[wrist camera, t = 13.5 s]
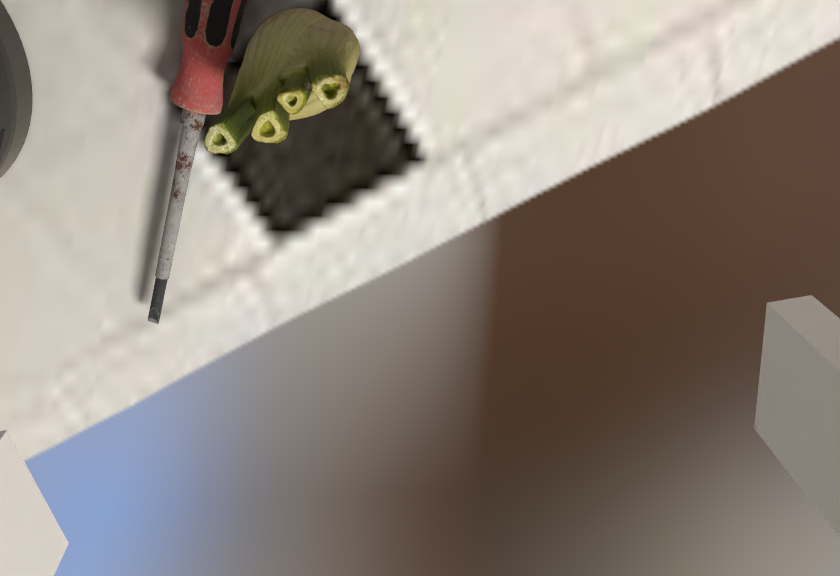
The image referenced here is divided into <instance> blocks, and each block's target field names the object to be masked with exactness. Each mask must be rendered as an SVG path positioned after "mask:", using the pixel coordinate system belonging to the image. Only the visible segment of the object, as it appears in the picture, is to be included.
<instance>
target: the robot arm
mask: <svg viewBox="0 0 840 576" xmlns="http://www.w3.org/2000/svg"><path fill="white" fill-rule="evenodd" d="M31 113H32V84H31V76H30V70H29V66H28V61H27V57H26V54H25V51H24V48H23V45H22V42H21V40H20V37H19V34H18V32H17V30H16V28H15V26H14V23H13V21H12V20H11V18H10V16H9V14H8V12H7V10H6V9H5V7H4V5H3V4H2V2H1V1H0V178H1V177H2V176H3V175H4V174H5V173H6V171H7V170H8V169H9V168H10V167H11V165H12V164H13V163H14V161H15V160H16V158H17V156H18V154H19V153H20V151H21V149H22V147H23V144H24V142H25V139H26V136H27V133H28V129H29V125H30V120H31ZM755 430H756V431H757V432H758V433H759V435H760V436H761V437H762V439H763V440H764V441H765V443H766V444H767V445H768V446H769V448H770V449H771V450H772V452H773V453H774V454H775V455H776V456H777V458H778V459H779V461H780V462H781V463H782V464H783V466H784V467H785V468H786V470H787V471H788V472H789V473H790V475H791V476H792V477H793V479H794V480H795V481H796V482H797V484H798V485H799V486H800V487H801V489H802V490H803V491H804V493H805V494H806V495H807V497H808V498H809V499H810V500H811V502H812V503H813V504H814V506H815V507H816V508H817V510H818V511H819V512H820V513H821V515H822V516H823V517H824V519H825V520H826V521H827V522H828V524H829V525H830V526H831V528H832V529H833V530H834V531H835V533H836V534H837V535H838V537H839V538H840V319H839V318H838V317H837V316H836V315H834V314H833V313H832V312H831V311H830V310H828V309H827V308H826V307H825V306H824V305H822V304H821V303H820V302H819V301H818V300H816V299H815V298H814V297H813V296H812V295H811V296H805V297H799V298H793V299H787V300H781V301H775V302H769V303H767V309H766V319H765V329H764V339H763V349H762V360H761V369H760V378H759V388H758V398H757V408H756V418H755ZM67 546H68V542H67V540H66V538H65V536H64V534H63V532H62V531H61V529H60V527H59V525H58V523H57V521H56V520H55V518H54V516H53V514H52V512H51V510H50V509H49V507H48V505H47V503H46V501H45V499H44V497H43V496H42V494H41V492H40V490H39V489H38V487H37V485H36V483H35V481H34V479H33V477H32V476H31V474H30V472H29V470H28V468H27V466H26V464H25V463H24V461H23V459H22V457H21V455H20V453H19V452H18V450H17V448H16V446H15V444H14V442H13V441H12V439H11V437H10V435H9V433H8V431H7V430H6V431H0V576H54V574H55V572H56V569H57V567H58V565H59V563H60V561H61V559H62V557H63V554H64V552H65V550H66V548H67Z"/></svg>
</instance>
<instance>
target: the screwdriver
mask: <svg viewBox="0 0 840 576" xmlns="http://www.w3.org/2000/svg"><path fill="white" fill-rule="evenodd" d="M246 3H247V0H186V4H185V12H184V19H183V27H182V41H183V56H182V63H181V66H180V69H179V72H178V75H177V77H176V80H175V82H174V84H173V86H172V89H171V93H170V98H169V99H170V101H171V102H172V103H174V104H175V105H177V106H179V107H181V108H183V110H182V116H181V123H182V127H181V134H180V140H179V147H178V153H177V160H176V167H175V173H174V179H173V184H172V189H171V195H170V200H169V205H168V210H167V216H166V221H165V226H164V232H163V237H162V242H161V247H160V253H159V258H158V263H157V269H156V274H155V276H156V280H155V285H154V290H153V295H152V301H151V306H150V311H149V316H148V321H151V322H154V323H157V324H159V319H160V315H161V309H162V304H163V299H164V294H165V289H166V284H167V279H168V278H169V275H170V270H171V265H172V260H173V255H174V250H175V245H176V240H177V235H178V230H179V225H180V220H181V215H182V210H183V205H184V200H185V196H186V191H187V186H188V181H189V176H190V172H191V168H192V163H193V159H194V155H195V151H196V147H197V143H198V138H199V134H200V130H201V128H202V127H203V125H204V121H205V116H206V114H219V113H221V110H222V105H223V75H224V70H225V67H226V64H227V61H228V59H229V57H230V55H231V53H232V51H233V48H234V46H235V42H236V39H237V35H238V31H239V27H240V23H241V19H242V15H243V12H244V9H245V6H246Z"/></svg>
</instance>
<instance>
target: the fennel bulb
mask: <svg viewBox="0 0 840 576" xmlns="http://www.w3.org/2000/svg"><path fill="white" fill-rule="evenodd" d="M359 54H360V46H359V42H358V39H357V38H356V36H355V35H354V33H353V31H352V30H351V29H350V28H349V27H348V26H346V25H344V24H342V23H340V22H337V21H335V20H332V19H330V18H328V17H326V16H324V15H322V14H320V13H319V12H317V11H314V10H311V9H305V8H292V9H285V10H282V11H279V12H277V13H276V14H274V15H272V16H271V17H269V18H268V19H266V20H265V21H264V22H263V23H262V24H261V25H260V26H259V27H258V29H257V30H256V32H255V33H254V35H253V36H252V38H251V39H250V41H249V43H248V46H247V48H246V52H245V55H244V59H243V61H242V65H241V67H240V69H239V73H238V77H237V80H236V83H235V86H234V89H233V92H232V96H231V98H230V101H229V106H228V107H227V108H226V110H225V111H224V112H223V113H222V114H221V115H220V116H219V117H218V118H217V119H216V120H215V122H214V123H213V124H211V125H210V127H209V129H208V131H207V133H206V134H205V139H204V145H205V148H206V150H207V151H208V152H211V153H214V154H216V153H225V154H228V153H231V152H233V151H235V150H237V149H238V147H239V145H240V144H241V143H242V142H243V140H245V138H246V137H247V136H248V135H249V134H250V132H251V135H252V137H253V139H254V140H256V141H260V142H265V143H279V142H281V141H282V140H284V139H285V138H286V137H287V135H288V129H289V125H290V124H289V120H294V119H300V118H305V117H309V116H312V115H315V114H318V113H321V112H322V111H324V110H326V109H330V108H334V107H335V106H337V105H338V104H340V103H341V102H342V101H343V100H344V99H345V97H346V95H347V92H348V89H349V84H350V81H351V76H352V74H353V72H354V69H355V67H356V64H357V61H358V57H359Z"/></svg>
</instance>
